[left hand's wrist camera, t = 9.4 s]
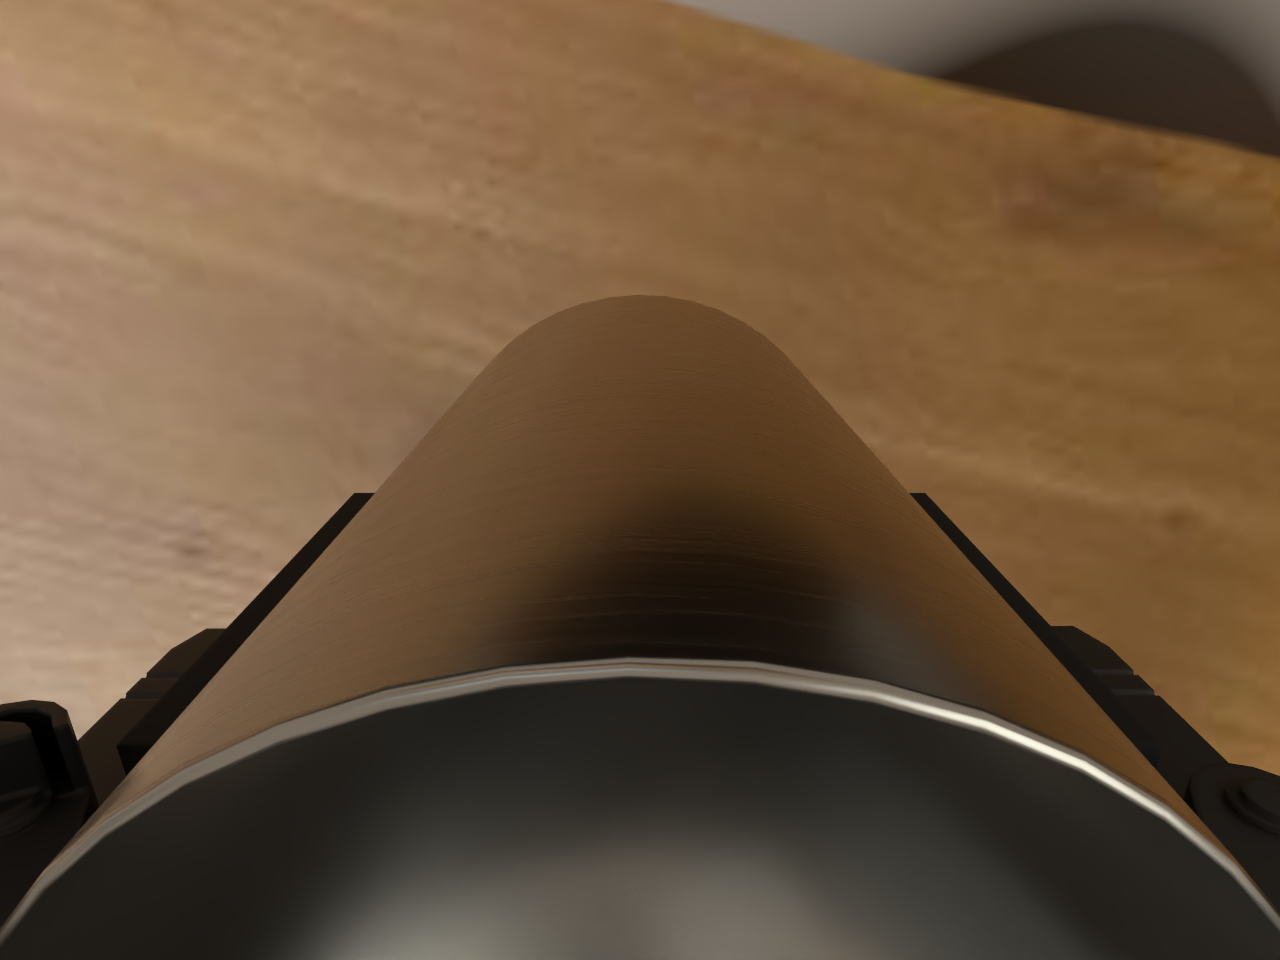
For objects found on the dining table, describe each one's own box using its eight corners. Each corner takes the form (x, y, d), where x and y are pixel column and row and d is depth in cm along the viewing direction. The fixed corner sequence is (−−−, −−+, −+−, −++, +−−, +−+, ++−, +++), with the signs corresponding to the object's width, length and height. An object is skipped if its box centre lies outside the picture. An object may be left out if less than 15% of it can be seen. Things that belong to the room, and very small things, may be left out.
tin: (755, 223, 15) (1243, 358, 3) (882, 579, 18) (1390, 1389, 6) (375, 394, 16) (-402, 989, 4) (552, 700, 19) (402, 1571, 7)
